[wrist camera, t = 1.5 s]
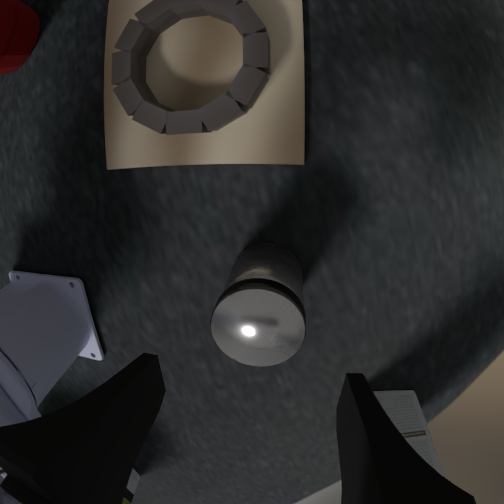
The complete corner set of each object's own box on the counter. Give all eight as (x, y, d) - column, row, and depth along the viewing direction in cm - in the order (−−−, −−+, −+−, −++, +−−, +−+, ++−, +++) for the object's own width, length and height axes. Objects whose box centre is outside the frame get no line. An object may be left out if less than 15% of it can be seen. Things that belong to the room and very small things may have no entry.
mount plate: (111, 168, 19) (89, 175, 16) (113, 1, 14) (93, -11, 12) (303, 163, 17) (305, 168, 15) (300, -25, 13) (300, -44, 10)
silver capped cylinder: (233, 304, 21) (213, 363, 16) (230, 240, 19) (206, 286, 14) (300, 307, 21) (301, 369, 15) (305, 243, 19) (309, 291, 13)
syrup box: (352, 390, 23) (370, 557, 9) (416, 387, 22) (459, 536, 9) (338, 430, 25) (344, 572, 12) (397, 427, 24) (420, 558, 11)
